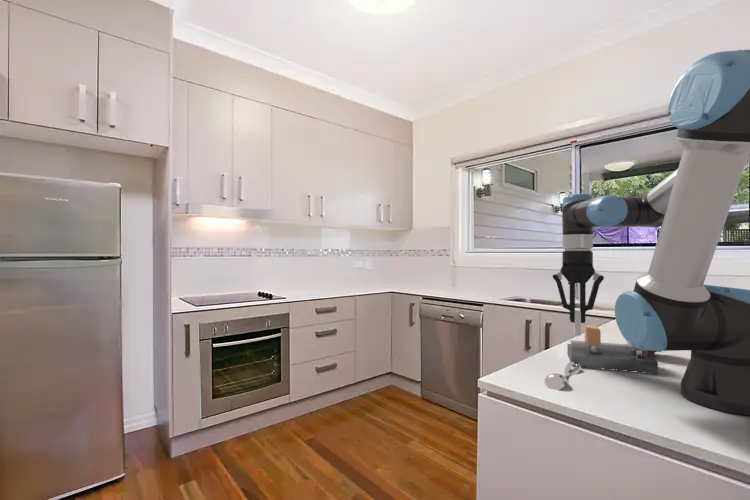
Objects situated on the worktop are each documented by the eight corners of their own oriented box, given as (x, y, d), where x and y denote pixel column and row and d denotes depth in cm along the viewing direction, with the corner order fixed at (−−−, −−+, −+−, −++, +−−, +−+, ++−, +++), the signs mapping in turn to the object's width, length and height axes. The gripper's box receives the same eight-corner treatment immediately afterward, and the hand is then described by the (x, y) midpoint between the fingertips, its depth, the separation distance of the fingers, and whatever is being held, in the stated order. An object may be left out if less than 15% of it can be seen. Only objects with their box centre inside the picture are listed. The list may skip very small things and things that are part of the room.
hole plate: (657, 374, 95) (657, 361, 95) (571, 365, 102) (571, 354, 102) (643, 360, 107) (643, 349, 107) (567, 353, 114) (567, 343, 114)
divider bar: (651, 358, 98) (651, 334, 98) (572, 351, 105) (572, 329, 105) (644, 352, 104) (644, 330, 104) (570, 346, 111) (570, 325, 111)
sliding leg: (600, 353, 103) (600, 330, 103) (587, 352, 104) (587, 329, 104) (596, 347, 109) (596, 325, 109) (584, 346, 110) (584, 325, 110)
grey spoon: (565, 353, 102) (585, 355, 99) (565, 366, 102) (585, 369, 99) (541, 376, 86) (564, 380, 83) (542, 392, 87) (564, 397, 84)
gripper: (602, 249, 109) (602, 333, 109) (551, 250, 114) (551, 329, 114) (606, 250, 102) (606, 339, 102) (552, 250, 107) (552, 335, 107)
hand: (577, 334), depth 108 cm, fingers closed
